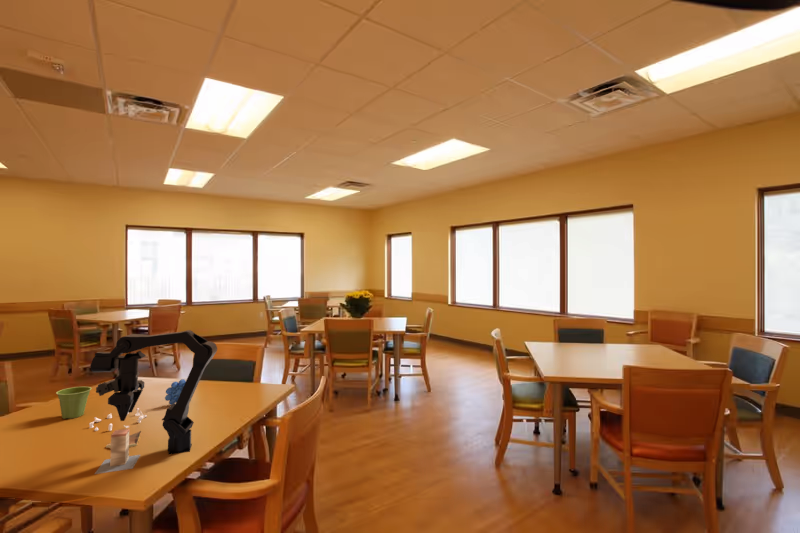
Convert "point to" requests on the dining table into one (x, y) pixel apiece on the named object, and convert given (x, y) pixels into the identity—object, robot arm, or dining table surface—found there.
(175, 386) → the grapes
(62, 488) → the dining table surface
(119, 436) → the block
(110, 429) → the game piece set
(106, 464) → the mat
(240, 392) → the dining table surface
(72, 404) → the plant pot
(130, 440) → the shard
